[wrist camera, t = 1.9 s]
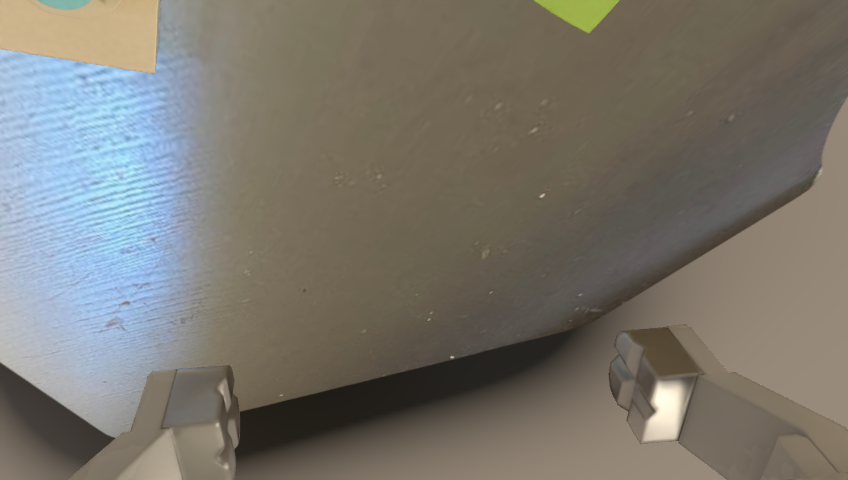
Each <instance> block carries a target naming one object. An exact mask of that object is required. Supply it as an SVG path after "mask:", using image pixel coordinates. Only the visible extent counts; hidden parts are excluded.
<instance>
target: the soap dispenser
mask: <svg viewBox="0 0 848 480" xmlns="http://www.w3.org/2000/svg"><path fill="white" fill-rule="evenodd" d="M533 1H535V2H536V3H537V4H539V5H540V6H542V7H543V8H545V9H546V10H548V11H550V12H551V13H553V14H554V15H556V16H558V17H559V18H561V19H562V20H564V21H566V22H568V23H570V24H571V25H573V26H575V27H577V28H579V29H581V30H583V31H585V32H587V33H590V32H591V31H592V30H593V29H594V28H595V27H596V25H597V24H598V23H599V22H600V21H601V20H602V19H603V18H604V17H605V16H606V15H607V14H608V13H609V11H610V10H611V9H612V8H613V7H614V6H615V5H616V4H617V3H618V2H619V0H533Z"/></svg>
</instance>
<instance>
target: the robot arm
mask: <svg viewBox="0 0 848 480" xmlns="http://www.w3.org/2000/svg"><path fill="white" fill-rule="evenodd" d="M614 347H615V348H616V350H617V352H618V353H619V354H618V355H617V356H616V357H615V358H614V359H613V360H612V361H611V363H610V369H609V382H610V389H611V392H612V395H613V397H614V399H615V401H616V402H617V405H619V406H620V407H622V408H623V409H625V410H627V411H628V416H627V422H628V424H629V426H630V427H631V429H632V431H633V433H634V434H635V436H636V438H637V440H638V441H639V443H640V444H648V443H659V442H672V441H679V442H678V443H679V444H680V445H682V446H683V447H684V448H686V449H687V450H688V451H690V452H691V453H692V454H694V455H695V456H696V457H698V458H699V459H700V460H702V461H703V462H704V463H706V464H707V465H709V466H710V467H711V468H712V469H713V470H715V471H716V472H718V473H719V474H720V475H721V476H723V477H724V478H725V479H727V480H848V429H847V428H846V427H844V426H842V425H840V424H838V423H836V422H834V421H832V420H830V419H828V418H826V417H824V416H822V415H820V414H818V413H816V412H814V411H812V410H810V409H808V408H806V407H804V406H802V405H800V404H798V403H796V402H794V401H792V400H790V399H788V398H786V397H784V396H782V395H780V394H778V393H776V392H774V391H772V390H770V389H768V388H766V387H764V386H762V385H760V384H758V383H756V382H754V381H752V380H750V379H748V378H746V377H743V376H742V375H740V374H738V373H736V372H731V373H728V372H727V370H726V369H725V368H724V367H723V365H722V364H721V363H720V362H719V361H718V359H717V358H716V357H715V356H714V355H713V353H712V352H711V351H710V350H709V349H708V347H707V346H706V345H705V344H704V342H703V341H702V340H701V339H700V338H699V337H698V335H697V334H696V333H695V332H694V330H693V329H692V328H691V327H689V326H688V325H686V324H685V325H675V326H666V327H663V328H650V329H640V330H629V331H620V332H619V333H618V335H617V337H616V340H615V345H614ZM233 387H234V377H233V372H232V368H231V367H230V365H228V366H213V367H198V368H182V369H173V370H159V371H152V372H151V373H150V374H149V376H148V377H147V381H146V384H145V387H144V390H143V393H142V396H141V399H140V403H139V406H138V409H137V412H136V415H135V418H134V421H133V424H132V428H131V431H130V432H125V433H122V434H120V435H119V436H118V437H117V438H116V439H115V440H113V441H112V442H111V443H110V444H109V445H108V446H107V447H105V448H104V449H103V450H102V451H101V452H100V453H98V454H97V455H96V456H95V457H94V458H92V459H91V460H90V461H89V462H88V463H87V464H85V465H84V466H83V467H82V468H81V469H80V470H78V471H77V472H76V473H75V474H74V475H73V476H71V477H70V478H69V479H68V480H234V476H235V468H236V459H235V453H234V449H235V447H237V445H238V444H239V434H240V415H239V405H238V399H237V397H236V396H235V395H234V394H233Z"/></svg>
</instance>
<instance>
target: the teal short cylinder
mask: <svg viewBox="0 0 848 480" xmlns="http://www.w3.org/2000/svg"><path fill="white" fill-rule="evenodd" d="M37 1H39V2H41V3H42V4H44V5H47V6H49V7H52V8H56V9H62V10H73V9H78V8H81V7H83V6H85V5H86V4H88V3H89V2H90V1H91V0H37Z"/></svg>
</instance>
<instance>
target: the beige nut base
mask: <svg viewBox="0 0 848 480" xmlns="http://www.w3.org/2000/svg"><path fill="white" fill-rule="evenodd" d="M160 11H161V0H91V1H90V2H89V3H88V4H86V5H85V6H83V7H81V8H78V9H73V10H62V9H56V8H52V7H49V6H47V5H44V4H42V3H41V2H39V1H37V0H0V49H4V50H10V51H16V52H22V53H28V54H35V55H41V56H47V57H53V58H59V59H66V60H72V61H78V62H84V63H90V64H96V65H103V66H109V67H115V68H121V69H127V70H134V71H140V72H146V73H152V74H154V73H155V70H156V63H157V56H158V49H159V31H160Z"/></svg>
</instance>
